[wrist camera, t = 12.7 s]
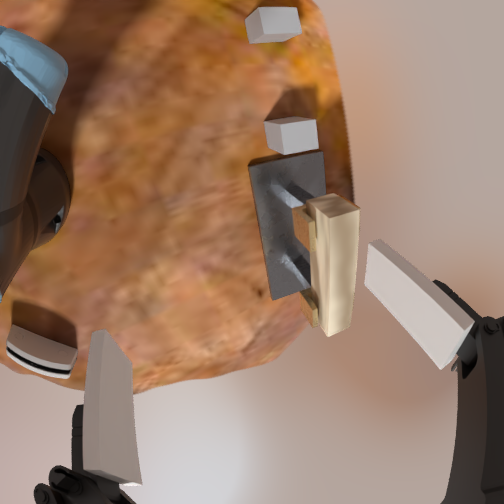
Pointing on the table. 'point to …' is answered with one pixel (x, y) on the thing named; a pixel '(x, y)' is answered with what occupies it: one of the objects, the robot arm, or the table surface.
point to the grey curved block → (40, 353)
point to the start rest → (278, 30)
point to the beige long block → (334, 260)
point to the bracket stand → (289, 222)
